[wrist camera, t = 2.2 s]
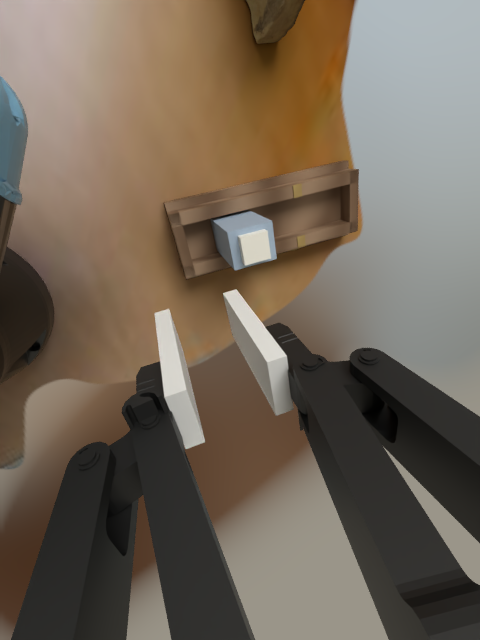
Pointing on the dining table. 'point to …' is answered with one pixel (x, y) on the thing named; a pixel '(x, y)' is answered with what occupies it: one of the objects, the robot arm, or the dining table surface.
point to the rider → (244, 238)
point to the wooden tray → (268, 213)
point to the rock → (273, 18)
